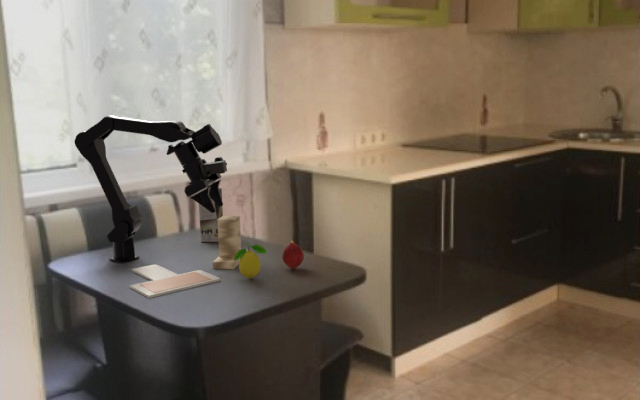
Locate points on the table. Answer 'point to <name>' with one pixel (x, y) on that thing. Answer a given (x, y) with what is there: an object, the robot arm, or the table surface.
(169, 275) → the tee mat
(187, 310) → the table surface
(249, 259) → the lemon
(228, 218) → the birch tee block
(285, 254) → the onion
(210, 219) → the coffee box
